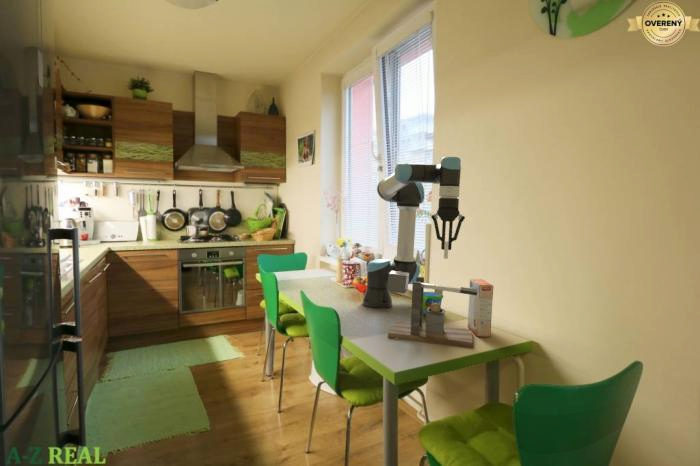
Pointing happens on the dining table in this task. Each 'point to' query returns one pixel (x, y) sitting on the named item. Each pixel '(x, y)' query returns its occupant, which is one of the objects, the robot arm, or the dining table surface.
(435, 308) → the tan ball
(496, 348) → the dining table surface
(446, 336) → the press base
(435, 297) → the snack cup
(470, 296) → the cracker box
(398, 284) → the lever
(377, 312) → the dining table surface
